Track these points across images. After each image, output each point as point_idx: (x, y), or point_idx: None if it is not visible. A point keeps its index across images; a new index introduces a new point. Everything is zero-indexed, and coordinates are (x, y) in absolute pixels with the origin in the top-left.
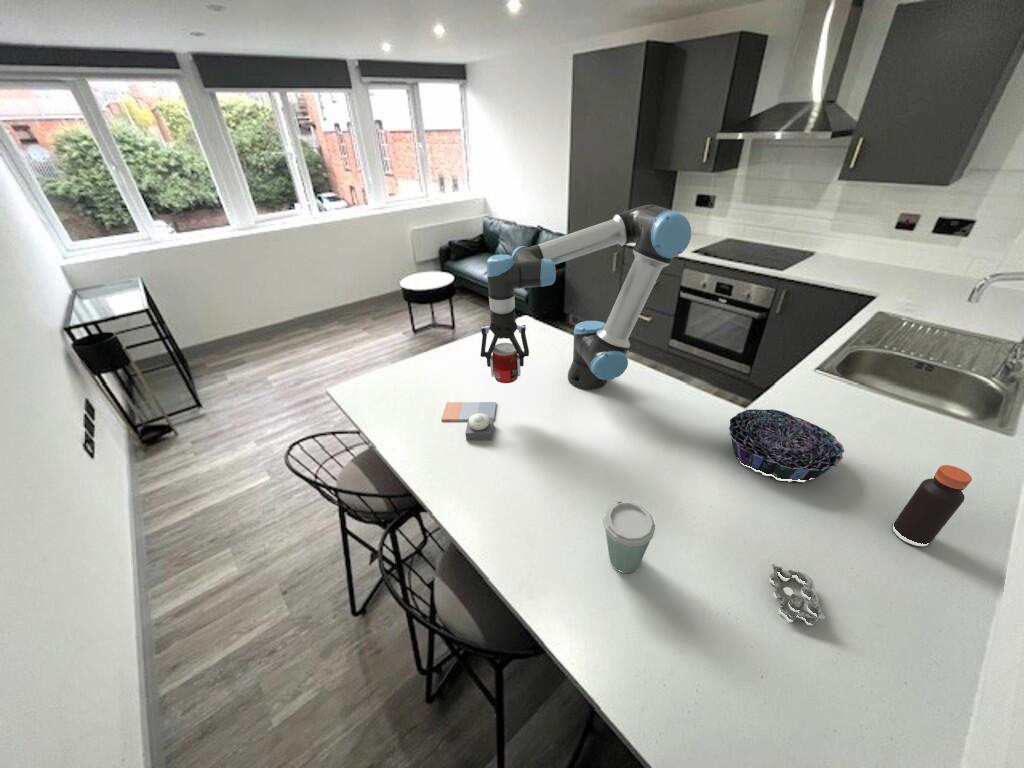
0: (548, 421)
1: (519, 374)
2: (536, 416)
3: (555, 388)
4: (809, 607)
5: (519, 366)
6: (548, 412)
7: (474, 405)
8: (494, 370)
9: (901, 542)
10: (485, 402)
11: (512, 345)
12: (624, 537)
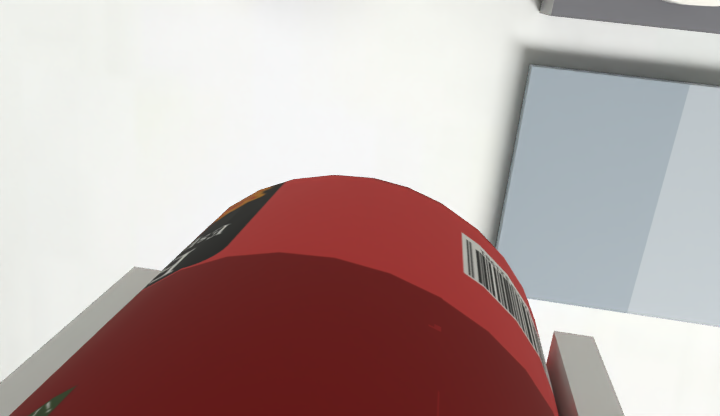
0: (100, 4)
1: (129, 283)
2: (189, 80)
3: None
4: None
5: (30, 368)
6: (102, 118)
7: (677, 275)
8: (551, 394)
9: None
10: (579, 299)
11: None
12: None
